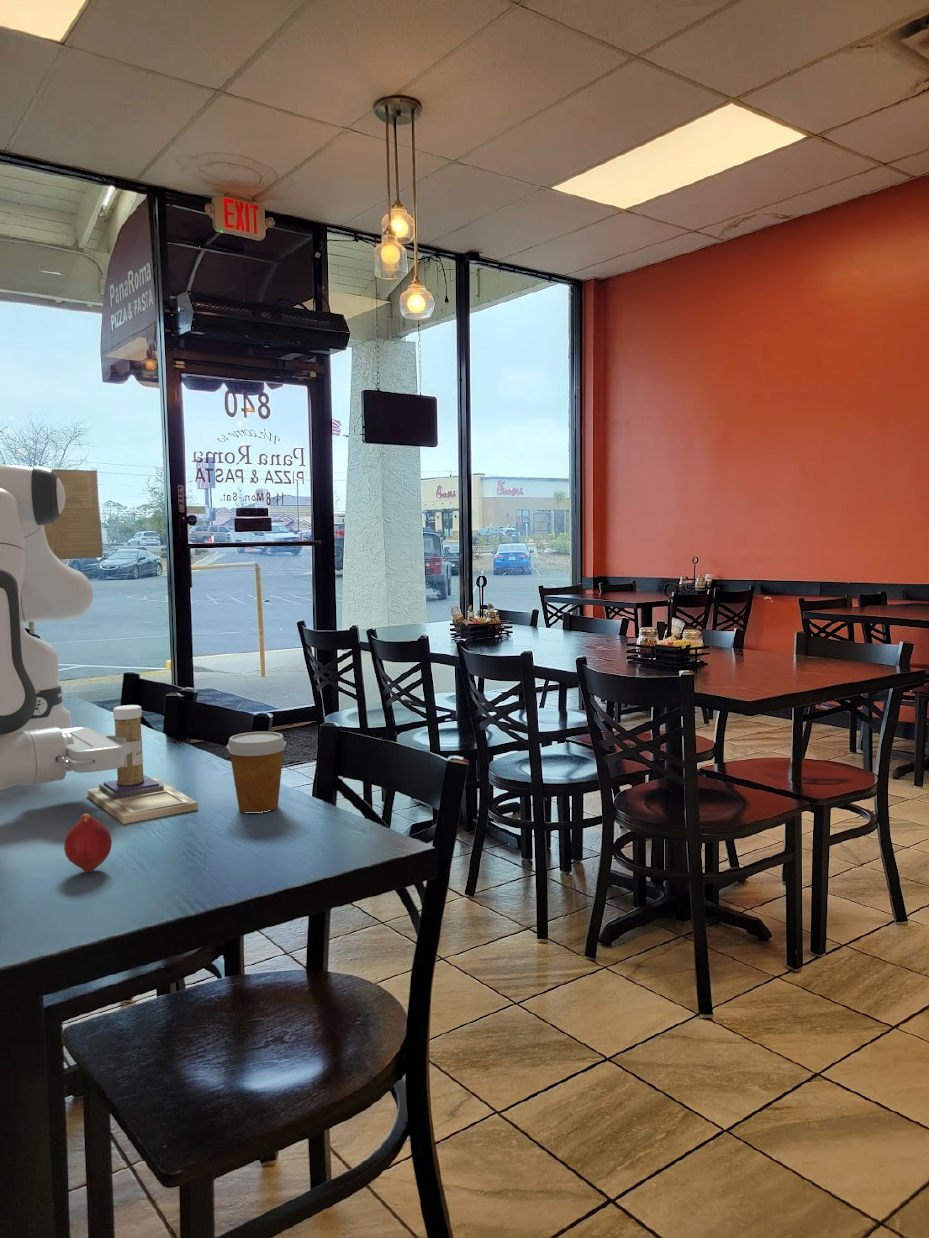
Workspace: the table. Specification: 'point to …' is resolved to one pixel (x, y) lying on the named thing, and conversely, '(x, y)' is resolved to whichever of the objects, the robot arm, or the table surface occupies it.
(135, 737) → the sprinkles bottle
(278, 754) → the disposable coffee cup
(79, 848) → the onion
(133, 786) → the stamp station
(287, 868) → the table surface
